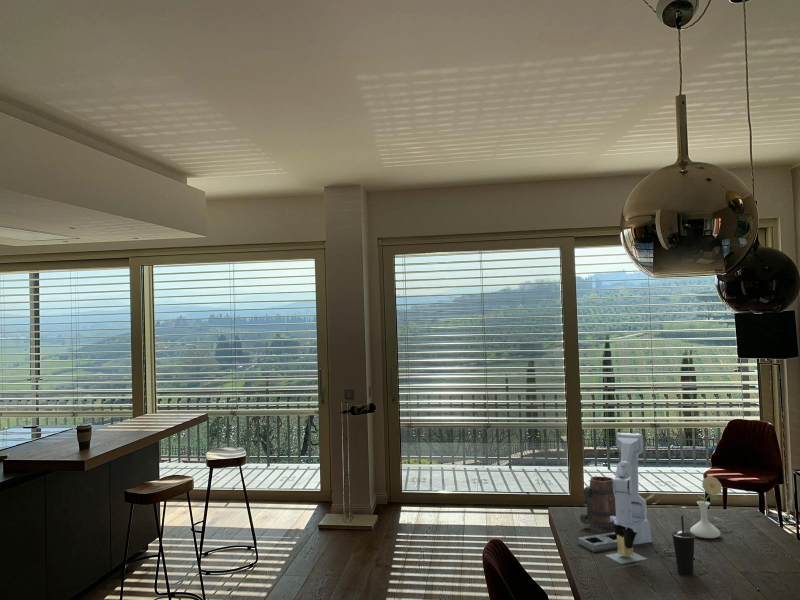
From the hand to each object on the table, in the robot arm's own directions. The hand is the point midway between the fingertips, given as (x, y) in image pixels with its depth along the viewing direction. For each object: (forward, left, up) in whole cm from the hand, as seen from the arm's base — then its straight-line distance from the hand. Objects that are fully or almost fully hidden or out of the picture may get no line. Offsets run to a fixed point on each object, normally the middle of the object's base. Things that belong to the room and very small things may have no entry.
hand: (625, 545), depth 222 cm
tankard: (-16, -37, -5) cm, 41 cm away
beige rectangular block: (0, 0, -3) cm, 3 cm away
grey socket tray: (-1, -14, -5) cm, 15 cm away
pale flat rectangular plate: (0, 0, -5) cm, 5 cm away
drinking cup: (-10, +19, -5) cm, 22 cm away
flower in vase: (-47, -7, -5) cm, 48 cm away
